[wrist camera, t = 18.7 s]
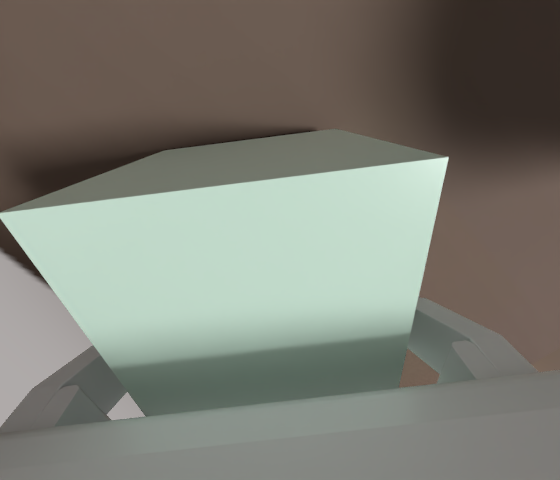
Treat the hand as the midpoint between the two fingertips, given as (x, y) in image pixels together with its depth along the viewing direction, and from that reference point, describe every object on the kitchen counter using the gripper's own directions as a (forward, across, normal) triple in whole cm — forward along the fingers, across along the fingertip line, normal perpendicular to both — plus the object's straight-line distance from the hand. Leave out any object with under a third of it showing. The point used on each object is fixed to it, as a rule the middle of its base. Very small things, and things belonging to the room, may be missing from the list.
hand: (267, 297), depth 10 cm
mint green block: (+3, 0, 0) cm, 3 cm away
